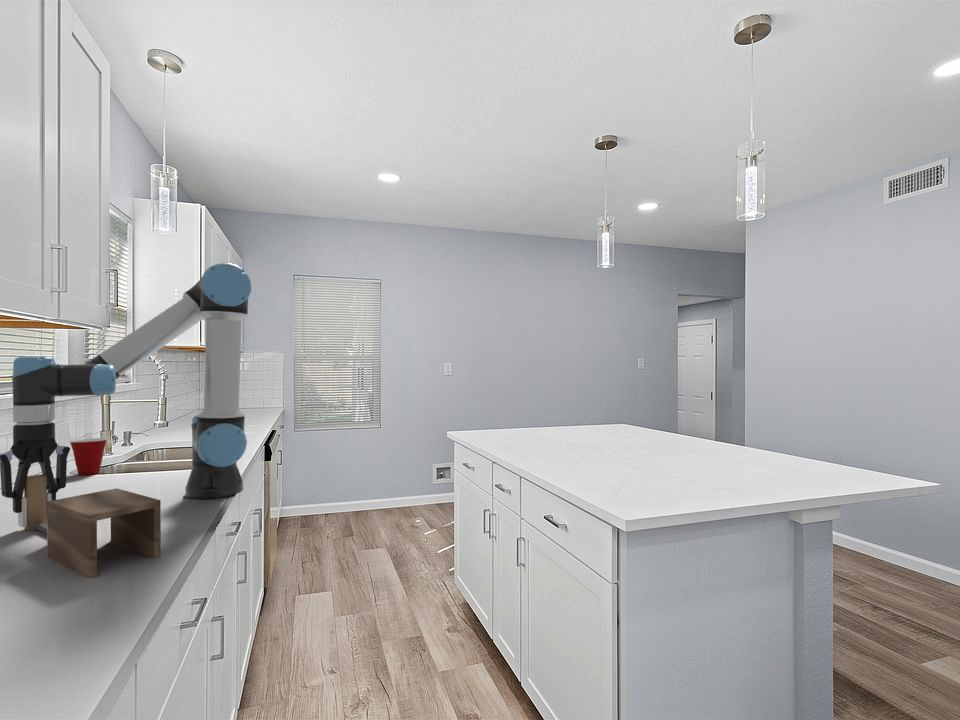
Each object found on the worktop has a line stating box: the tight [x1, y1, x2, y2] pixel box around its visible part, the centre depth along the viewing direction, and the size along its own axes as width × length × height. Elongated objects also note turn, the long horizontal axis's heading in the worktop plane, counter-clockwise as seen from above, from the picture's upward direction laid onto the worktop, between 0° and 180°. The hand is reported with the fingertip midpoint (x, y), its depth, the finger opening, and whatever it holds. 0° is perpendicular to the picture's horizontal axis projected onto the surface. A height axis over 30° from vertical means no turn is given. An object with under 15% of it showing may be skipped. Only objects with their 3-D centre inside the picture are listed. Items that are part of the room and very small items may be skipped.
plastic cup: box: [68, 437, 109, 476], centre depth 182 cm, size 11×11×12 cm
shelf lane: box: [47, 488, 162, 578], centre depth 107 cm, size 12×18×11 cm
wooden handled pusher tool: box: [23, 473, 48, 546], centre depth 119 cm, size 6×24×12 cm, turn 57°
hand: (35, 522), depth 125 cm, fingers closed on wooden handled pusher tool, 4 cm apart
